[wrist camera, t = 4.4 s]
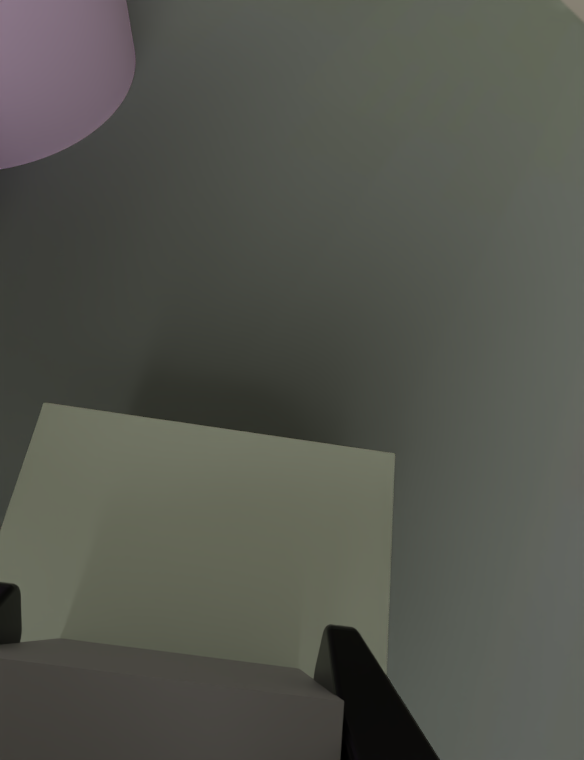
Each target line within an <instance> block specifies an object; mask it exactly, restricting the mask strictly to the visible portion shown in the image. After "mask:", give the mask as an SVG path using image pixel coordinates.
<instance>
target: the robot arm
mask: <svg viewBox="0 0 584 760" xmlns="http://www.w3.org/2000/svg"><path fill="white" fill-rule="evenodd" d="M21 635H22V615H21V592H20V588H19V586H18V585H16V584H14V583H6V582H0V645H2V644H11V643H20V640H21ZM313 680H315V681H316V682H317V683H319V684H320V685H321V686H323V687H324V688H325V689H327V690H328V691H330V692H331V693H332V694H334V695H336V696H338V697H339V698H340V699H342V700H343V701H344V711H343V726H342V742H341V757H340V760H440V759H439V758H438V756H437V754H436V753H435V751H434V750H433V748H432V747H431V745H430V743H429V742H428V740H427V739H426V737H425V735H424V734H423V732H422V731H421V729H420V728H419V726H418V724H417V723H416V721H415V720H414V718H413V717H412V715H411V713H410V712H409V710H408V709H407V707H406V706H405V704H404V702H403V701H402V699H401V698H400V696H399V695H398V693H397V691H396V690H395V688H394V687H393V685H392V683H391V682H390V680H389V679H388V677H387V676H386V674H385V672H384V671H383V669H382V668H381V666H380V665H379V663H378V661H377V660H376V658H375V657H374V655H373V654H372V652H371V650H370V649H369V647H368V646H367V644H366V642H365V641H364V639H363V638H362V636H361V635H360V633H359V632H358V630H357V629H355V628H354V627H350V626H342V625H334V624H329V625H327V626H326V627H325V628H324V631H323V635H322V639H321V644H320V648H319V653H318V657H317V662H316V666H315V671H314V679H313Z"/></svg>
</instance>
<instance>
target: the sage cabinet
mask: <svg viewBox="0 0 584 760" xmlns="http://www.w3.org/2000/svg"><path fill="white" fill-rule="evenodd" d="M394 467H395V453H388V452H381V451H374V450H367V449H361V448H354V447H347V446H340V445H333V444H326V443H319V442H313V441H306V440H299V439H292V438H285V437H278V436H271V435H264V434H258V433H251V432H244V431H237V430H230V429H223V428H216V427H210V426H203V425H196V424H189V423H182V422H175V421H168V420H161V419H155V418H148V417H141V416H134V415H127V414H120V413H113V412H107V411H100V410H93V409H86V408H79V407H72V406H65V405H58V404H52V403H45V402H44V403H43V406H42V409H41V412H40V415H39V418H38V421H37V424H36V427H35V430H34V433H33V436H32V439H31V442H30V445H29V447H28V450H27V453H26V456H25V459H24V462H23V465H22V468H21V471H20V474H19V477H18V480H17V483H16V486H15V489H14V492H13V494H12V497H11V500H10V503H9V506H8V509H7V512H6V515H5V518H4V521H3V524H2V527H1V530H0V582H6V583H14V584H16V585H18V586H19V588H20V592H21V615H22V635H21V640H20V643H11V644H2V645H0V760H340V757H341V742H342V726H343V711H344V701H343V700H342V699H340V698H339V697H338V696H336V695H334V694H332V693H331V692H330V691H328V690H327V689H325V688H324V687H323V686H321V685H320V684H319V683H317V682H316V681H315V680H313V679H314V671H315V666H316V662H317V657H318V653H319V648H320V644H321V639H322V635H323V631H324V628H325V627H326V626H327V625H329V624H334V625H342V626H350V627H354V628H355V629H357V630H358V632H359V633H360V635H361V636H362V638H363V639H364V641H365V642H366V644H367V646H368V647H369V649H370V650H371V652H372V654H373V655H374V657H375V658H376V660H377V661H378V663H379V665H380V666H381V668H382V669H383V671H384V672H385V674H386V676H387V652H388V625H389V599H390V572H391V546H392V519H393V493H394Z"/></svg>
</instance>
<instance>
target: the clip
mask: <svg viewBox="0 0 584 760" xmlns="http://www.w3.org/2000/svg"><path fill="white" fill-rule="evenodd" d="M135 63H136V57H135V49H134V43H133V37H132V31H131V25H130V19H129V14H128V8H127V2H126V0H0V169H5V168H11V167H15V166H19V165H23V164H27V163H30V162H33V161H36V160H39V159H42V158H45V157H48V156H50V155H53V154H55V153H57V152H60V151H62V150H64V149H66V148H68V147H70V146H72V145H74V144H75V143H77V142H79V141H80V140H82V139H84V138H85V137H87V136H88V135H90V134H91V133H92V132H94V131H95V130H96V129H97V128H99V127H100V126H101V125H102V124H103V123H104V122H106V121H107V120H108V119H109V118H110V117H111V115H112V114H113V113H114V112H115V111H116V110H117V108H118V107H119V106H120V104H121V103H122V101H123V100H124V98H125V97H126V95H127V93H128V91H129V89H130V86H131V84H132V81H133V77H134V73H135Z"/></svg>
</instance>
